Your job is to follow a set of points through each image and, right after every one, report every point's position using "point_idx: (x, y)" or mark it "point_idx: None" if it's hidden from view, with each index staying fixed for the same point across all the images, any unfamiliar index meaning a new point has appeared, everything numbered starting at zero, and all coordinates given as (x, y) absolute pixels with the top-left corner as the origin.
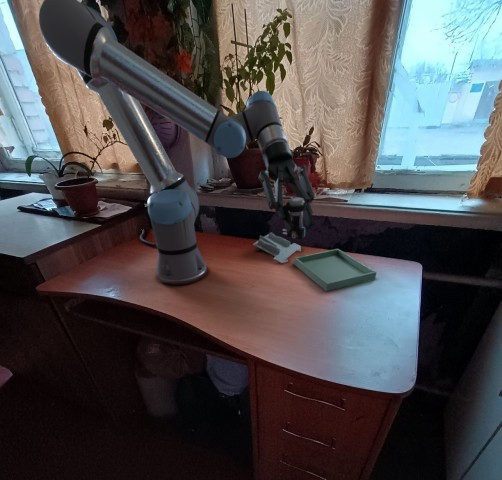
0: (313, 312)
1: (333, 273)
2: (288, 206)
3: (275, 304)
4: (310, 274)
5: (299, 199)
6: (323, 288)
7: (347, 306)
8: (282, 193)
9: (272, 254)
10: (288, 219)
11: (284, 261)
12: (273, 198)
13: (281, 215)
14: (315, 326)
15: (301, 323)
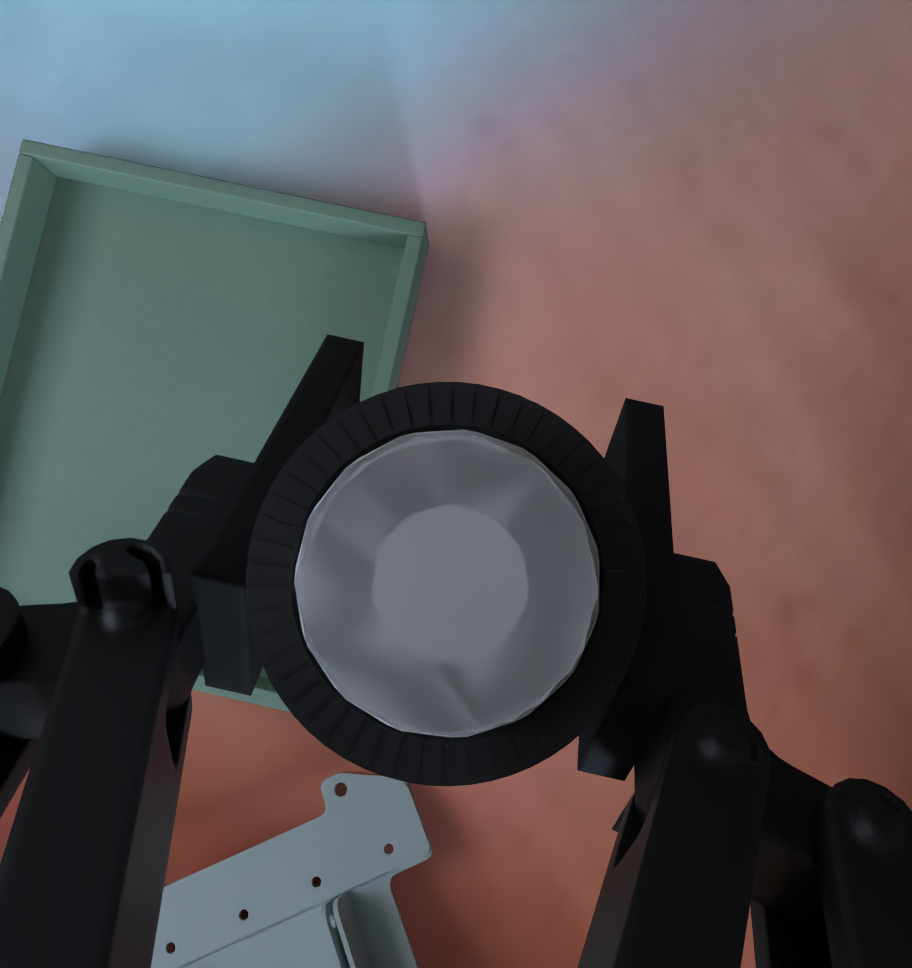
0: (666, 111)
1: (219, 381)
2: (645, 578)
3: (799, 317)
4: None
5: (411, 534)
6: (421, 277)
7: (458, 41)
8: (618, 952)
9: (399, 918)
10: (667, 487)
11: (362, 784)
12: (879, 910)
13: (731, 602)
14: (752, 2)
15: (797, 68)
